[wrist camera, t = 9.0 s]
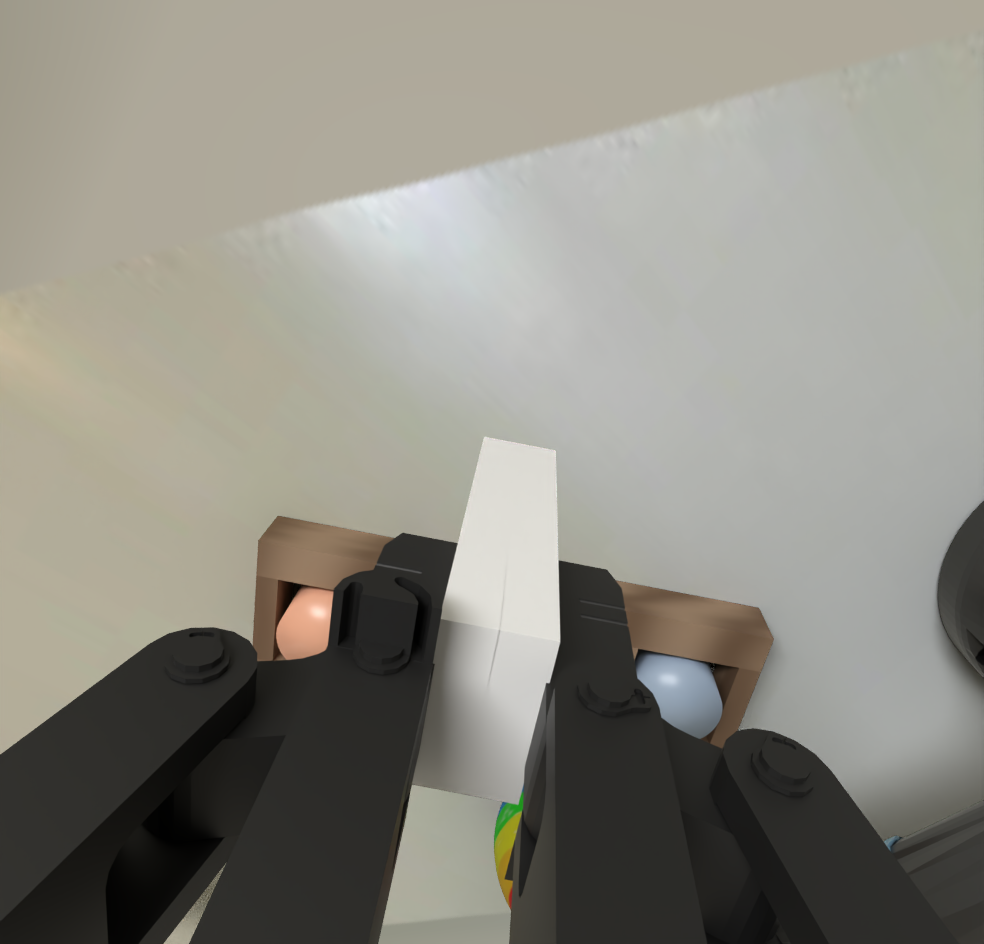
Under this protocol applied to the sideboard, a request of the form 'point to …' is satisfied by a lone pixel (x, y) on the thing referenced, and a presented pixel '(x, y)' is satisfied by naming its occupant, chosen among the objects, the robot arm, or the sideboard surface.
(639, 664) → the slate blue button
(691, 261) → the sideboard surface
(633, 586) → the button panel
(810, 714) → the sideboard surface
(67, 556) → the sideboard surface
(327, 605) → the terracotta button
